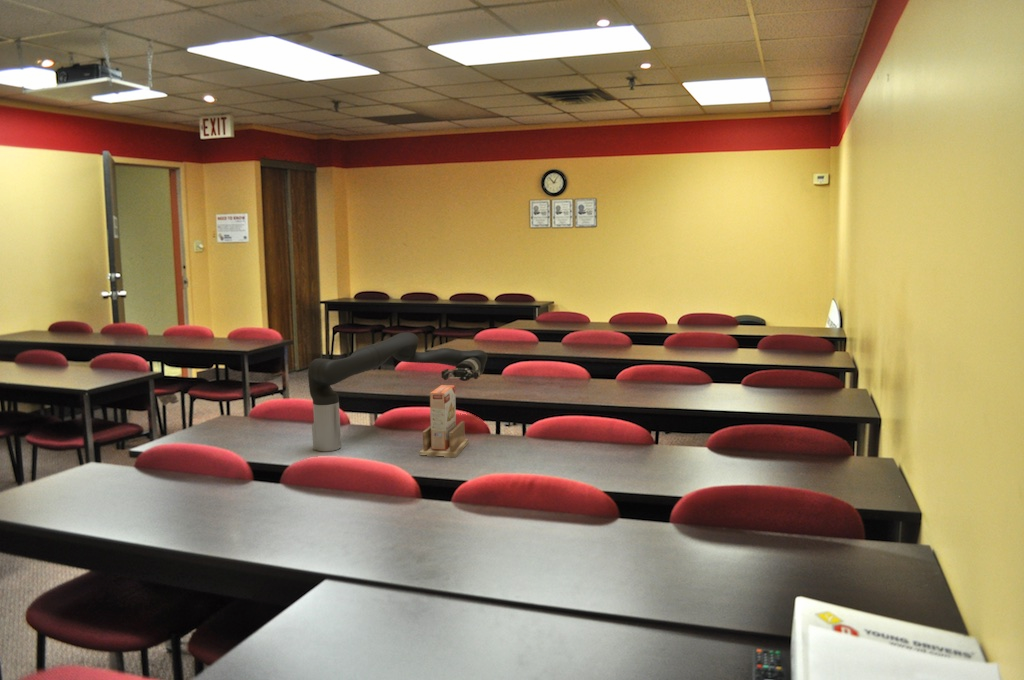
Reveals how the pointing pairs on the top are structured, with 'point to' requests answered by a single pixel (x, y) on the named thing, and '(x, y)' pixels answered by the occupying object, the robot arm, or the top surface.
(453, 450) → the book rack
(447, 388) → the cracker box
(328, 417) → the robot arm
